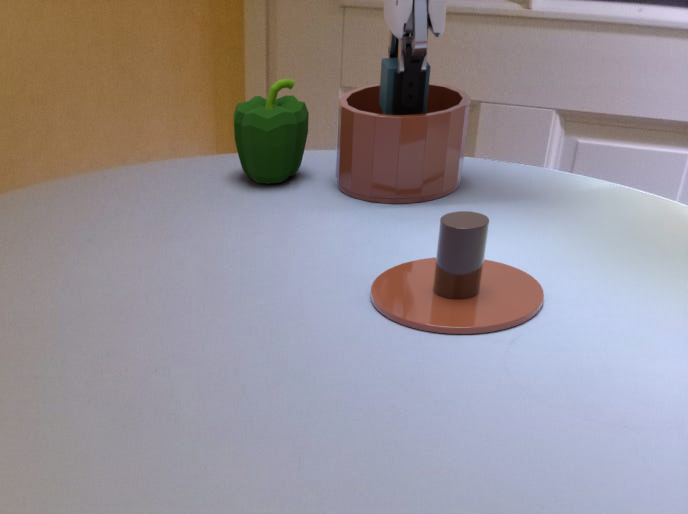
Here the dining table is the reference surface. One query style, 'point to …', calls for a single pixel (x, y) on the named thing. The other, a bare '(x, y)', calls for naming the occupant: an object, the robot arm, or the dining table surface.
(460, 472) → the dining table surface
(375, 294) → the lid
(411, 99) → the robot arm
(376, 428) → the dining table surface
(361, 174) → the brown pot
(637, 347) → the dining table surface
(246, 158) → the bell pepper
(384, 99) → the block
